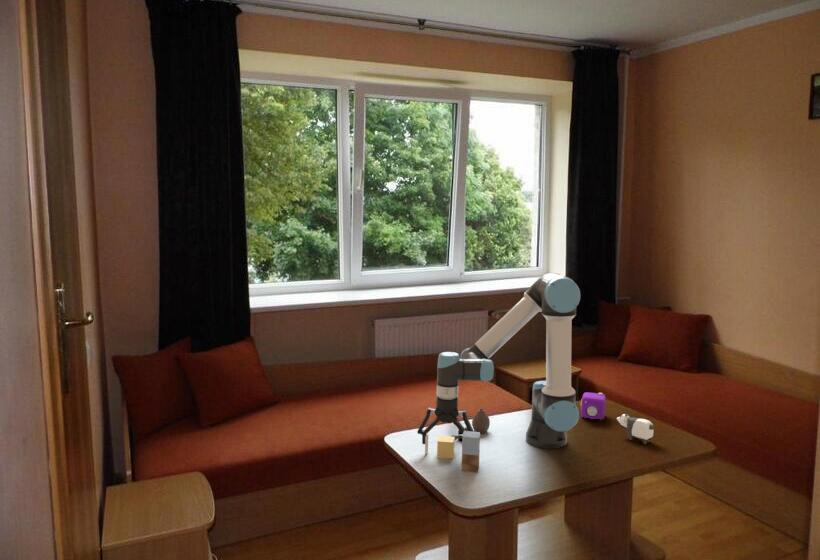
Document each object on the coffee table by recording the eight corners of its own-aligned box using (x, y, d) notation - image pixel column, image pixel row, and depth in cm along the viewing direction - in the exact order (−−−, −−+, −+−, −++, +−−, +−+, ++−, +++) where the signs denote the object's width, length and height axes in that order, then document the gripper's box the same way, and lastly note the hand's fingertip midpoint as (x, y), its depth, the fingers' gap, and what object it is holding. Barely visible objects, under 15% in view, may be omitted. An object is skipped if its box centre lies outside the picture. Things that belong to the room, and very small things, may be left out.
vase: (492, 430, 243) (493, 409, 242) (484, 435, 238) (485, 413, 236) (476, 427, 247) (477, 405, 246) (468, 432, 241) (469, 410, 240)
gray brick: (479, 449, 209) (480, 432, 209) (478, 455, 204) (479, 438, 203) (463, 447, 210) (463, 430, 210) (461, 454, 205) (462, 436, 204)
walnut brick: (479, 465, 210) (479, 448, 210) (478, 472, 205) (478, 455, 204) (462, 464, 211) (463, 447, 210) (461, 470, 206) (462, 453, 205)
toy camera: (581, 422, 255) (582, 399, 253) (578, 411, 268) (579, 389, 267) (608, 424, 253) (610, 401, 252) (603, 413, 266) (605, 391, 265)
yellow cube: (454, 452, 221) (454, 436, 220) (452, 459, 215) (453, 442, 215) (438, 451, 222) (439, 435, 221) (437, 457, 216) (437, 441, 216)
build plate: (479, 437, 237) (480, 426, 237) (480, 444, 230) (481, 432, 230) (447, 435, 238) (447, 424, 238) (447, 443, 231) (447, 431, 231)
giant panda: (655, 443, 234) (657, 418, 233) (648, 446, 230) (650, 422, 229) (619, 432, 244) (620, 409, 243) (612, 435, 241) (613, 412, 239)
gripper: (410, 397, 214) (409, 455, 217) (482, 402, 210) (480, 461, 213) (413, 390, 222) (412, 447, 224) (483, 395, 218) (481, 453, 220)
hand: (445, 454), depth 219 cm, fingers open, 13 cm apart
